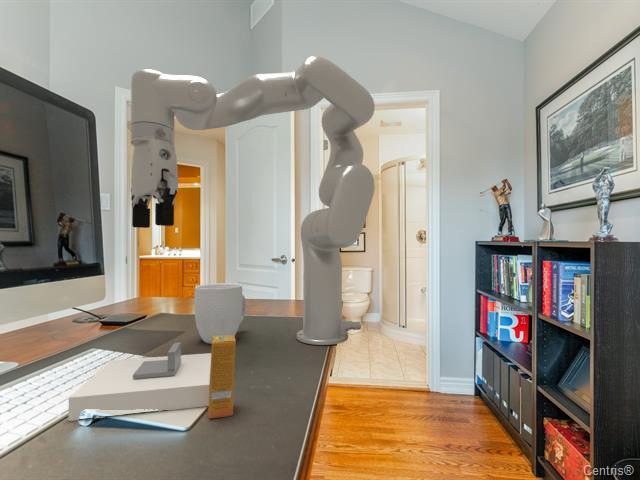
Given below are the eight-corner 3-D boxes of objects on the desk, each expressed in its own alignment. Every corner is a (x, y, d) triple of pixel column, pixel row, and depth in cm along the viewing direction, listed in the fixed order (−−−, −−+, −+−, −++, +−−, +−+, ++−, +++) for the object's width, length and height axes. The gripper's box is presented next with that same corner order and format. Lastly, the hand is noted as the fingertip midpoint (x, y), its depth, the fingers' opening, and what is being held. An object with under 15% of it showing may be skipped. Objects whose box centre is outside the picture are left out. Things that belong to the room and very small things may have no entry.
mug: (228, 328, 88) (228, 280, 89) (261, 333, 83) (261, 282, 84) (183, 343, 75) (184, 286, 75) (219, 350, 70) (219, 289, 70)
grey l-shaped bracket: (181, 362, 54) (181, 341, 54) (174, 375, 48) (174, 352, 48) (144, 365, 52) (144, 344, 53) (132, 378, 47) (133, 355, 47)
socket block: (221, 368, 59) (221, 352, 59) (215, 405, 46) (215, 384, 46) (111, 377, 55) (111, 360, 55) (68, 421, 41) (68, 397, 41)
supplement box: (235, 415, 43) (236, 340, 43) (208, 420, 42) (209, 342, 42) (233, 404, 46) (234, 333, 46) (208, 407, 45) (209, 335, 45)
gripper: (195, 134, 60) (194, 225, 60) (152, 151, 71) (151, 228, 71) (154, 122, 54) (153, 223, 54) (114, 142, 65) (113, 227, 65)
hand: (152, 226), depth 62 cm, fingers open, 9 cm apart
